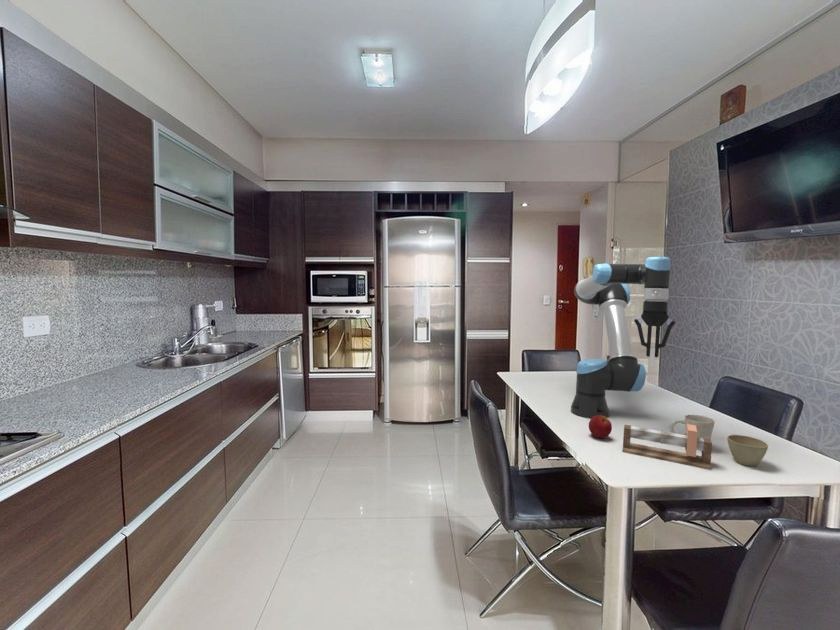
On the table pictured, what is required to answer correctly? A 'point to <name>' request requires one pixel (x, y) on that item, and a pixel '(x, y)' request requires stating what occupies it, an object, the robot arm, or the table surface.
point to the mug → (697, 425)
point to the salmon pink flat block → (691, 440)
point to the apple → (600, 426)
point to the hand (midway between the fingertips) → (651, 365)
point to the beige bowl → (747, 449)
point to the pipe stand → (664, 454)
